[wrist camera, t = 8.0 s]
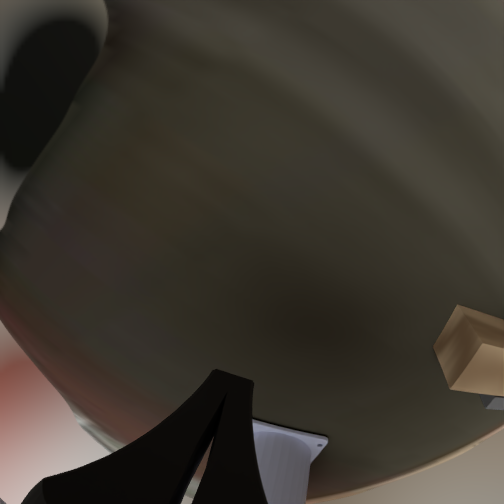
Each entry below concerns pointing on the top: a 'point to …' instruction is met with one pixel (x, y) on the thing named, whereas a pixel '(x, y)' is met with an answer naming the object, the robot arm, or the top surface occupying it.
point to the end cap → (492, 401)
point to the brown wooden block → (472, 352)
